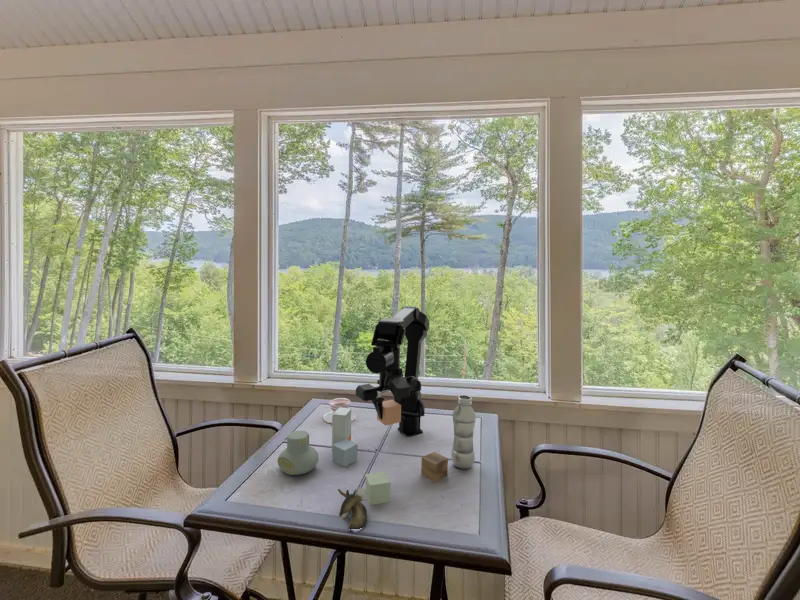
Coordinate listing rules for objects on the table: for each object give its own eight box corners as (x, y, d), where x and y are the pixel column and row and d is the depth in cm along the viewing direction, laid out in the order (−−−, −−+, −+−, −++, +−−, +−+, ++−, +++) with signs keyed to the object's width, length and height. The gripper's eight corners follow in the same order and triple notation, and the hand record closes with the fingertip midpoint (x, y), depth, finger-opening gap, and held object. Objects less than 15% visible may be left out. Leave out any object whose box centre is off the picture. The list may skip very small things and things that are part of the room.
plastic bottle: (460, 473, 105) (462, 403, 103) (446, 462, 111) (448, 395, 109) (479, 468, 108) (481, 399, 106) (464, 457, 114) (466, 392, 112)
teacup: (353, 425, 135) (353, 408, 135) (319, 424, 136) (319, 407, 135) (357, 412, 147) (357, 396, 147) (326, 411, 147) (326, 395, 147)
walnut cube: (433, 468, 108) (434, 451, 107) (447, 475, 104) (447, 458, 104) (421, 474, 105) (421, 457, 104) (434, 482, 101) (435, 464, 100)
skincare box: (345, 454, 115) (345, 415, 114) (331, 452, 116) (331, 414, 114) (351, 444, 121) (351, 408, 119) (338, 443, 121) (338, 406, 120)
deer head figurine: (328, 505, 89) (330, 523, 80) (344, 476, 90) (349, 491, 82) (356, 519, 90) (361, 539, 81) (372, 491, 92) (379, 507, 83)
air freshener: (273, 469, 106) (272, 434, 105) (296, 457, 112) (296, 424, 112) (300, 483, 100) (299, 446, 99) (323, 469, 106) (323, 434, 105)
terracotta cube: (392, 415, 114) (392, 399, 113) (400, 422, 110) (401, 405, 109) (377, 419, 111) (377, 402, 111) (385, 425, 107) (385, 408, 107)
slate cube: (345, 454, 115) (345, 438, 114) (357, 460, 111) (357, 443, 111) (332, 461, 111) (332, 444, 110) (344, 467, 108) (344, 450, 107)
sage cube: (384, 490, 97) (385, 471, 97) (390, 501, 92) (390, 482, 92) (365, 493, 96) (365, 474, 95) (369, 505, 91) (369, 485, 91)
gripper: (373, 376, 97) (372, 435, 99) (433, 366, 107) (431, 420, 108) (355, 365, 107) (354, 419, 108) (411, 357, 116) (410, 407, 118)
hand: (388, 417), depth 110 cm, fingers closed on terracotta cube, 5 cm apart
